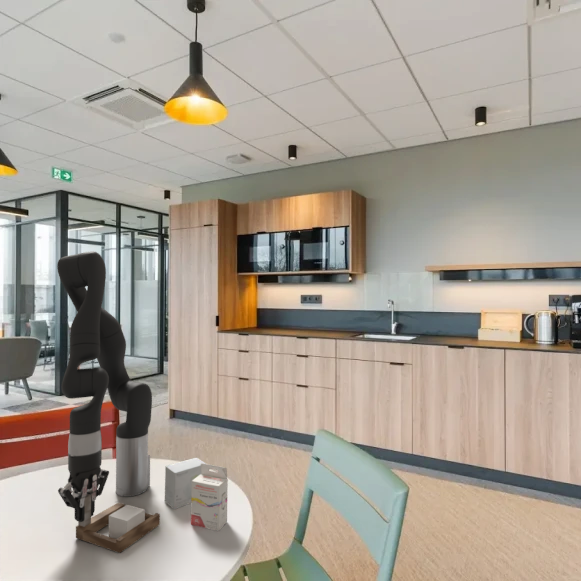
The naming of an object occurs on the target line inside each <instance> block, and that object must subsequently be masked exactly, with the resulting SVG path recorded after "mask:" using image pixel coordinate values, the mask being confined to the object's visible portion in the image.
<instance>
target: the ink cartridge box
mask: <svg viewBox="0 0 581 581" xmlns="http://www.w3.org/2000/svg"><path fill="white" fill-rule="evenodd" d="M213 469H214V470H215V471H212V470H213ZM228 481H229V480H228V469H227V467H226V466H225V467H224V466H220V465H213V464H209V463H206V464H203V463H202V464H201V474H200V475H199V476H198V477H196V478H195V479H194V480H192V491H191V503H190V525H191V526H195V527H198V528H205V529H209V530H212V531H216V530H218V531H217V532H220V530H221V529H222V528H223V527H224V526H225V525H226V524H227V523H228V486H229V485H228V484H229V483H228ZM224 524H225V525H224ZM223 525H224V526H223Z"/></svg>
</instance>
